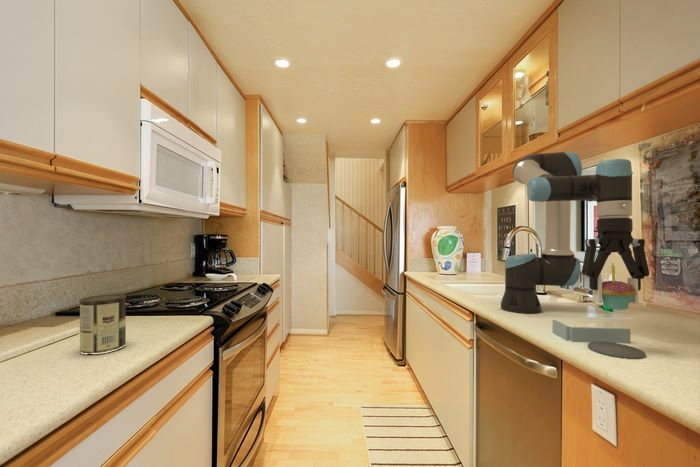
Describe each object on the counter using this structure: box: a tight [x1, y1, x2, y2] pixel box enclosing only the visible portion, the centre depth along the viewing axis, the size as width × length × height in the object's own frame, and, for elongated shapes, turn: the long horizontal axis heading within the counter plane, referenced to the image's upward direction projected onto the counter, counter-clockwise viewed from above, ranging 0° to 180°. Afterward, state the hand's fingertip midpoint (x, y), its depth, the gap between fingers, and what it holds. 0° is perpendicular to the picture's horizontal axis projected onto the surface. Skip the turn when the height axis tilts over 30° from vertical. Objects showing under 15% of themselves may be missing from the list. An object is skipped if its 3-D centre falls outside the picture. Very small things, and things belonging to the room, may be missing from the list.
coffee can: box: [79, 293, 127, 354], centre depth 91 cm, size 10×10×14 cm
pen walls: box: [551, 319, 632, 344], centre depth 101 cm, size 9×17×4 cm, turn 85°
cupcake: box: [602, 262, 636, 310], centre depth 90 cm, size 9×8×12 cm
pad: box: [587, 342, 646, 360], centre depth 90 cm, size 12×12×1 cm
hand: (615, 302), depth 90 cm, fingers closed on cupcake, 8 cm apart
